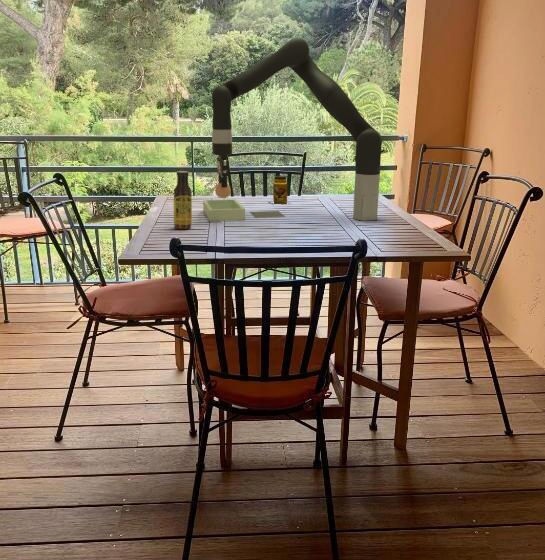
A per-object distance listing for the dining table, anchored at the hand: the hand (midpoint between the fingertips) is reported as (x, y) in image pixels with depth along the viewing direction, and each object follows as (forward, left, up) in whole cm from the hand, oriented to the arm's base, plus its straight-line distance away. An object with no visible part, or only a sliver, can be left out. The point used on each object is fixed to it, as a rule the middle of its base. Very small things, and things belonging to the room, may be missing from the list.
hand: (223, 185), depth 223 cm
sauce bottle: (-19, +17, -12) cm, 28 cm away
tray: (0, 0, -12) cm, 12 cm away
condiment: (+23, -28, -12) cm, 38 cm away
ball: (0, 0, -5) cm, 5 cm away
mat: (-2, -17, -12) cm, 21 cm away
